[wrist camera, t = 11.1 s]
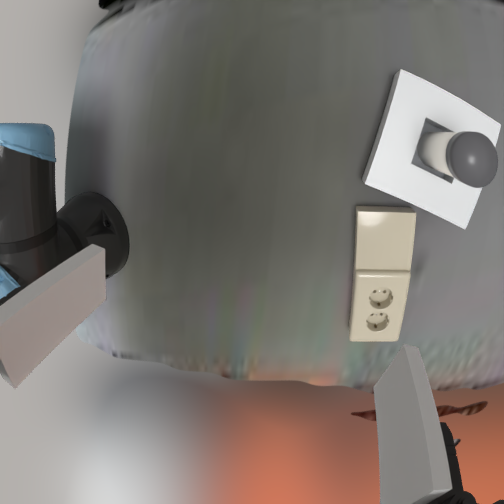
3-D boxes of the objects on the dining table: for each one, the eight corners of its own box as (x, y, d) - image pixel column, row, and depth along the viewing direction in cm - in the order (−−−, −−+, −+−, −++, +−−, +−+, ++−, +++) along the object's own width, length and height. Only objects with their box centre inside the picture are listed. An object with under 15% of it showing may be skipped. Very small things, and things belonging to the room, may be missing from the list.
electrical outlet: (418, 215, 30) (398, 342, 37) (409, 206, 34) (394, 325, 40) (358, 213, 32) (349, 342, 38) (355, 205, 36) (348, 325, 42)
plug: (410, 160, 31) (446, 173, 20) (422, 123, 29) (462, 121, 18) (443, 175, 30) (487, 196, 19) (454, 140, 28) (503, 147, 17)
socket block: (361, 179, 34) (364, 183, 30) (394, 74, 28) (400, 69, 24) (454, 220, 32) (465, 229, 29) (487, 124, 26) (500, 124, 23)
